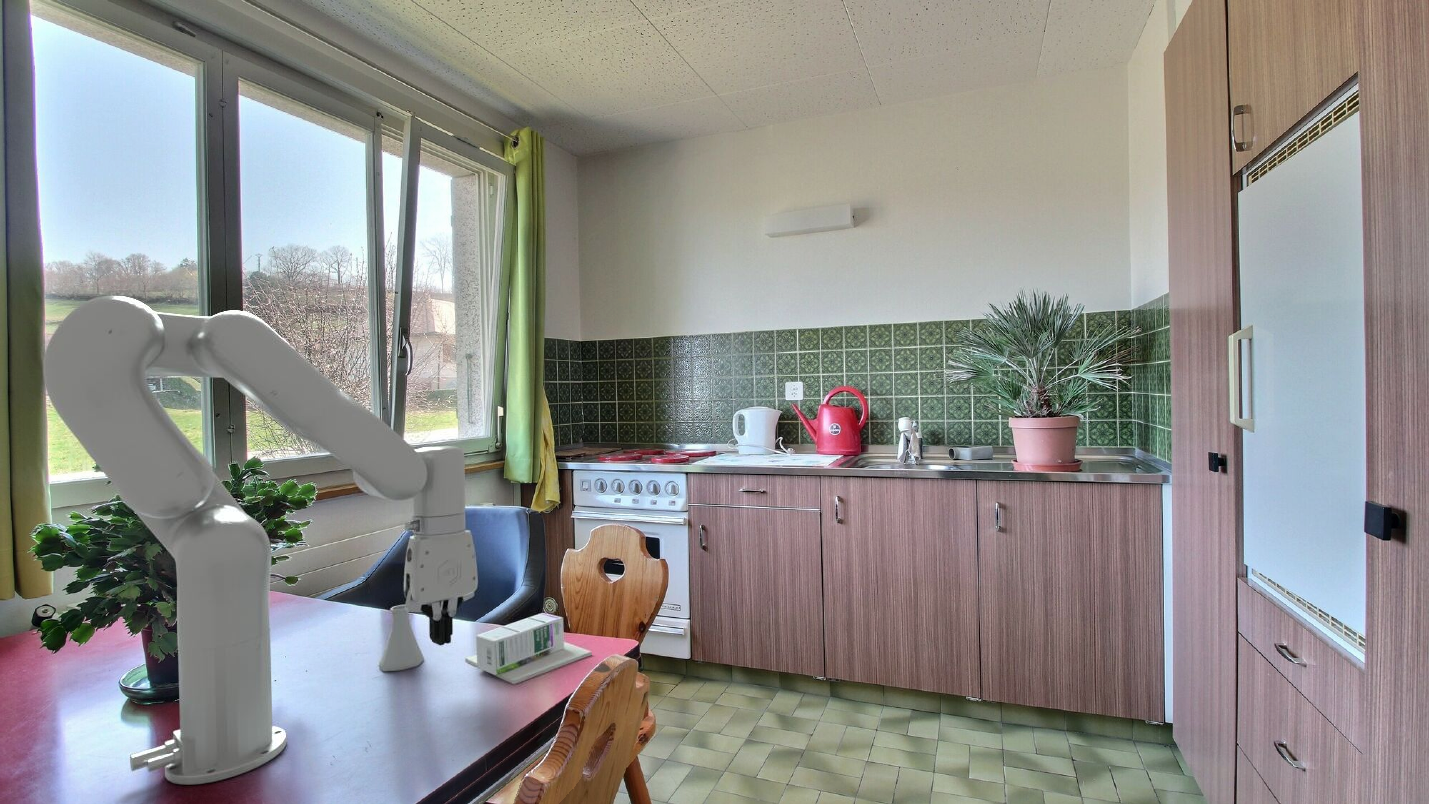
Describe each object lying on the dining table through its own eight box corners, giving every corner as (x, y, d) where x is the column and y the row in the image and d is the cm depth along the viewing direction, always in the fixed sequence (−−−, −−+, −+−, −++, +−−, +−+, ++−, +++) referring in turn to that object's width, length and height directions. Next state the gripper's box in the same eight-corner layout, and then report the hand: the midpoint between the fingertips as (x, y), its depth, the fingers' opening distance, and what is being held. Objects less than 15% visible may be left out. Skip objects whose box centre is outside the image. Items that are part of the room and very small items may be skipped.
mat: (513, 684, 105) (513, 680, 105) (465, 661, 115) (465, 658, 115) (591, 654, 117) (591, 651, 117) (541, 636, 127) (540, 633, 127)
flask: (423, 668, 113) (421, 610, 113) (376, 675, 110) (374, 616, 110) (425, 654, 120) (423, 599, 120) (380, 660, 117) (379, 604, 117)
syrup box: (494, 640, 107) (565, 617, 119) (474, 634, 111) (544, 611, 122) (496, 676, 107) (566, 648, 118) (475, 668, 111) (545, 642, 122)
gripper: (402, 535, 95) (403, 662, 95) (495, 520, 106) (497, 634, 106) (380, 529, 100) (381, 650, 100) (472, 516, 111) (473, 625, 111)
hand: (441, 642), depth 103 cm, fingers closed
